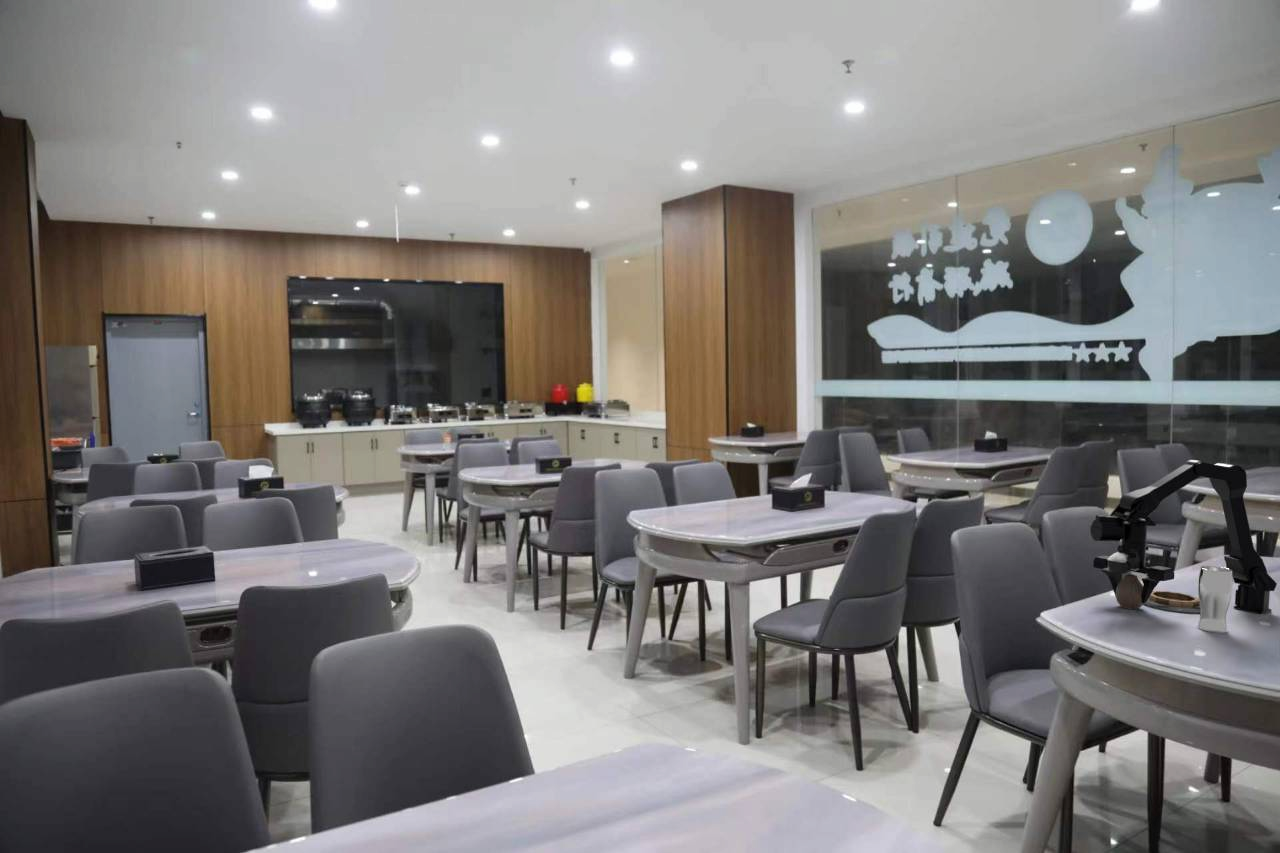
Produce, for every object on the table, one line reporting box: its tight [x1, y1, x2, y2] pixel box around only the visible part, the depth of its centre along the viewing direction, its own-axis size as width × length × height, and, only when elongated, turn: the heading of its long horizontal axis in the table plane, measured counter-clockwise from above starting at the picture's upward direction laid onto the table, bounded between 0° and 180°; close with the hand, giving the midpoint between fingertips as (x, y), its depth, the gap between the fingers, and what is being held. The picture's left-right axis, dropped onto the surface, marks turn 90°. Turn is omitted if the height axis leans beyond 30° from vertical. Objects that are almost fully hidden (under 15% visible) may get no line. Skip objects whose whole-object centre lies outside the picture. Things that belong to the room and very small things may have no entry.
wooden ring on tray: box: [1142, 590, 1200, 614], centre depth 231 cm, size 17×17×2 cm
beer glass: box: [1197, 565, 1234, 634], centre depth 208 cm, size 7×7×15 cm
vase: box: [1115, 573, 1144, 610], centre depth 227 cm, size 7×7×9 cm
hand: (1130, 600), depth 227 cm, fingers closed on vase, 7 cm apart
